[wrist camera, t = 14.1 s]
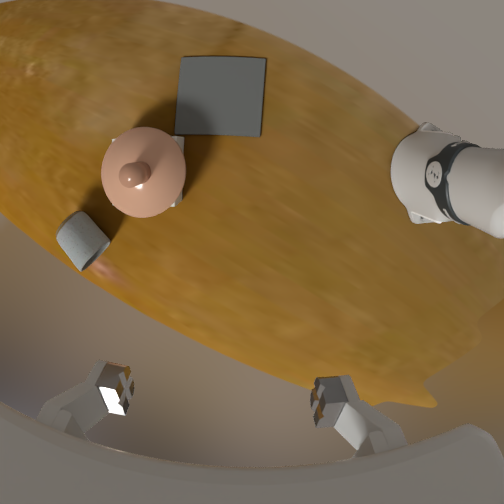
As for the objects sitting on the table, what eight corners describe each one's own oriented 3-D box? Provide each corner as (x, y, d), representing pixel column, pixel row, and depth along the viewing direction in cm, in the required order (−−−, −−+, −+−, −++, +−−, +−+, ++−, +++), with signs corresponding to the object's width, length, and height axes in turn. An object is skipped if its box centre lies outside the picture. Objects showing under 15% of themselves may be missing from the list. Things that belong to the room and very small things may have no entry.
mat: (265, 59, 35) (265, 58, 35) (259, 137, 40) (259, 136, 39) (182, 58, 35) (181, 57, 34) (175, 134, 39) (174, 134, 39)
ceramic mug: (87, 203, 42) (63, 214, 35) (117, 235, 45) (96, 251, 37) (62, 241, 45) (39, 256, 38) (88, 271, 47) (69, 289, 40)
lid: (188, 125, 34) (180, 122, 30) (185, 217, 39) (177, 226, 34) (104, 130, 34) (88, 129, 29) (105, 215, 38) (90, 223, 34)
